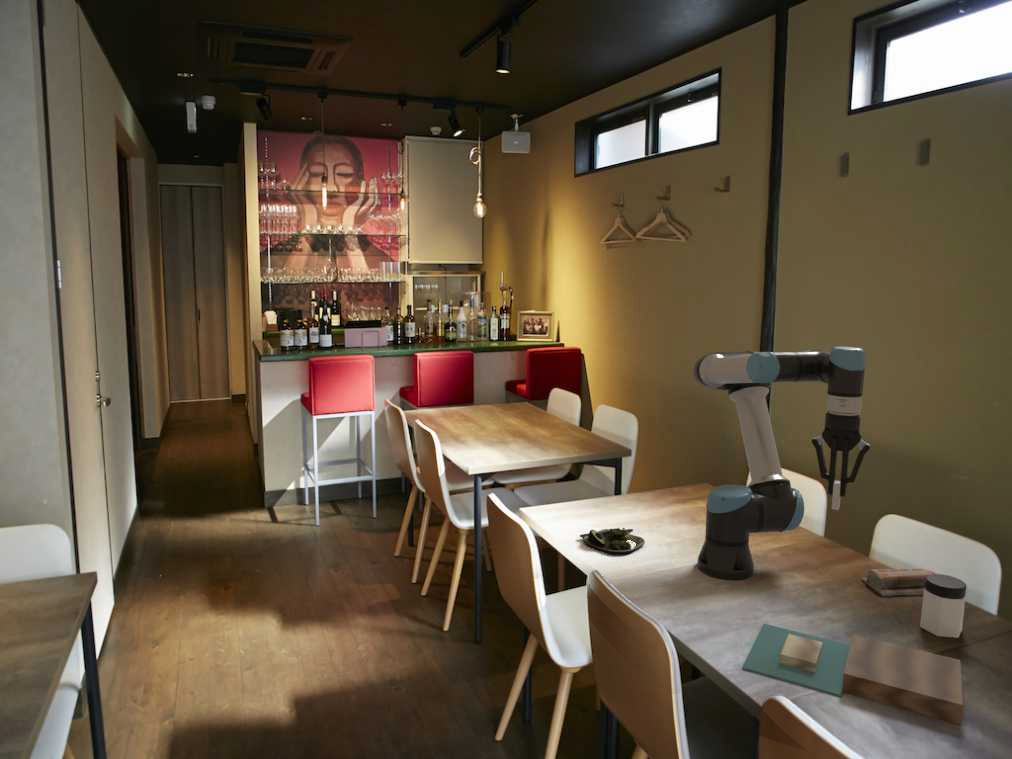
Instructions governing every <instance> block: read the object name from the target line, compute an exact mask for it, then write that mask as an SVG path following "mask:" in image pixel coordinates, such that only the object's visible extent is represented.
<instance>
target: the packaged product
mask: <svg viewBox="0 0 1012 759" xmlns="http://www.w3.org/2000/svg"><path fill="white" fill-rule="evenodd" d="M930 574H936V573H935V572H934V571H933V570H929V569H925V568H886V569H885V568H883V569H881V568H880V569H878V568H877V569H873V568H872V569H869V570H868V573H867V575H866V577H861V578H860V580H861V581H862V582H863V583H865V585H868V587H870V588H872V589H873V590H874V591H876V592H877V593H879V595H881V596H882V597H896V596H895V595H907V596H923V593H924V589H925V580H926V576H928V575H930ZM893 595H894V596H893Z"/></svg>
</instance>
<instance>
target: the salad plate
mask: <svg viewBox="0 0 1012 759" xmlns="http://www.w3.org/2000/svg"><path fill="white" fill-rule="evenodd" d="M633 532H634V529H632V528H628V529H626V528H624V527H623V528H622V529H620V527H617V528H616V527H615V528H607V529H606V528H603V529H601V530H598V531H597V530H595V529H591V530H589V532H588V533H584V534H579V538H581V539H583V542H584V544H585V546H587V547H588V548H589V547H590V549H592V548H593V549H592V550H594V549H595V550H594V551H597V550H598V551H597V552H599V551H601V552H600V553H602V552H604V553H603V554H605V553H607V554H606V555H610V554H612V556H624V555H627V554H631V553H634V551H636V550H638V549H640V548H642V546H644V545H645V543H646V541H645V539H644V538H643V537H641V536H638V535H634V534H631V533H633ZM627 540H631V541H633V542H635V543H636V546H635V545H634V547H633V549H632V544H630V542H628V541H627ZM626 541H627V542H626ZM633 542H632V543H633Z"/></svg>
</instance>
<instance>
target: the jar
mask: <svg viewBox="0 0 1012 759" xmlns="http://www.w3.org/2000/svg"><path fill="white" fill-rule="evenodd" d="M966 592H967V583H966V582H964V581H963V580H961V579H960V578H957V577H954V576H951V575H947V574H941V573H935V574H930V575H928V576H926V580H925V589H924V593H923V595H922V603H921V606H922V607H921V616H920V624H919V626H920V628H921V629H923V630H925V631H927V632H928V633H931V634H933V635H935V636H936V637H943V638H952V637H953V639H955V638H956V639H959V638H960V636H961V633H962V632H963V622H964V615H965V607H966V606H965V605H966V598H967V597H966V595H967V593H966Z"/></svg>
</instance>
